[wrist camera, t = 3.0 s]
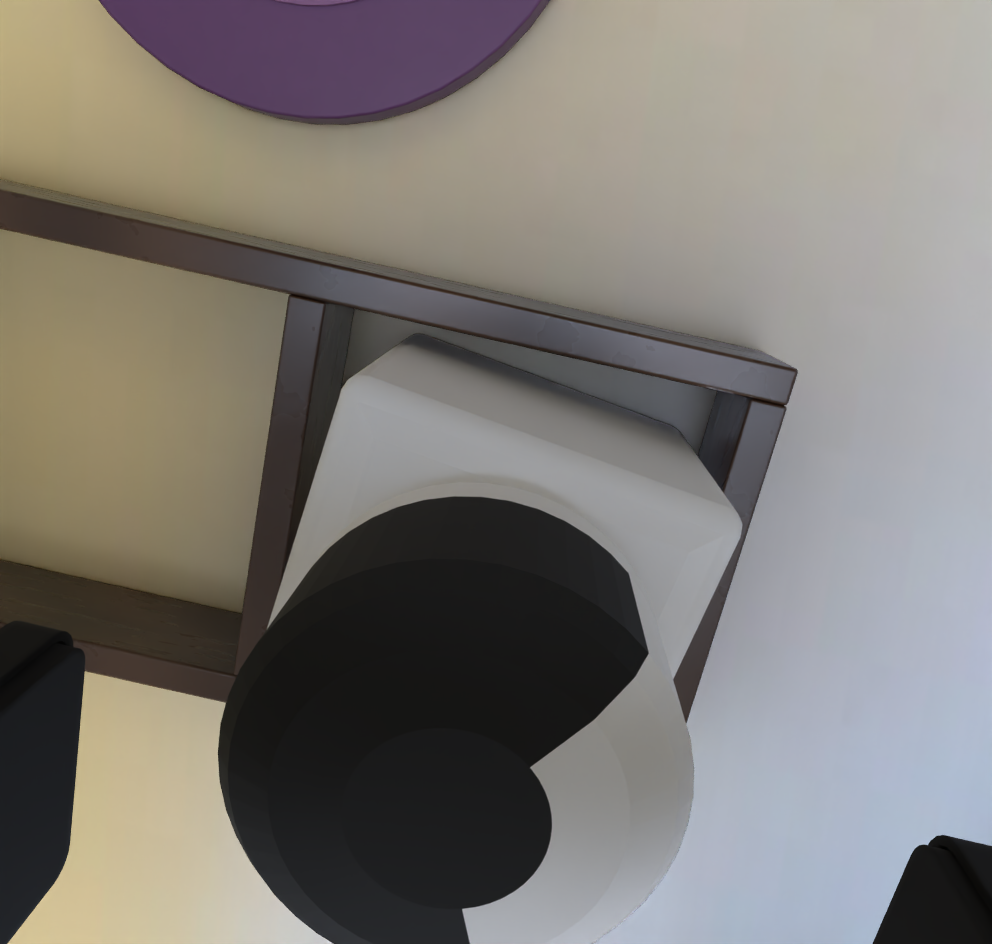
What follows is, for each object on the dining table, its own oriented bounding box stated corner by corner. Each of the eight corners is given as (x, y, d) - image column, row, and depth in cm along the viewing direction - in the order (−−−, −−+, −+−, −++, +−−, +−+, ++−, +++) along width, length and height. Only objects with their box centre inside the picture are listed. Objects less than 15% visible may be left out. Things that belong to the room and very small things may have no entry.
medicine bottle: (327, 582, 22) (91, 951, 11) (411, 327, 20) (235, 440, 9) (579, 671, 23) (614, 1125, 11) (684, 428, 21) (863, 667, 9)
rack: (-84, 567, 23) (-175, 614, 20) (-73, 162, 20) (-178, 149, 17) (647, 731, 23) (662, 801, 20) (763, 351, 20) (800, 369, 17)
